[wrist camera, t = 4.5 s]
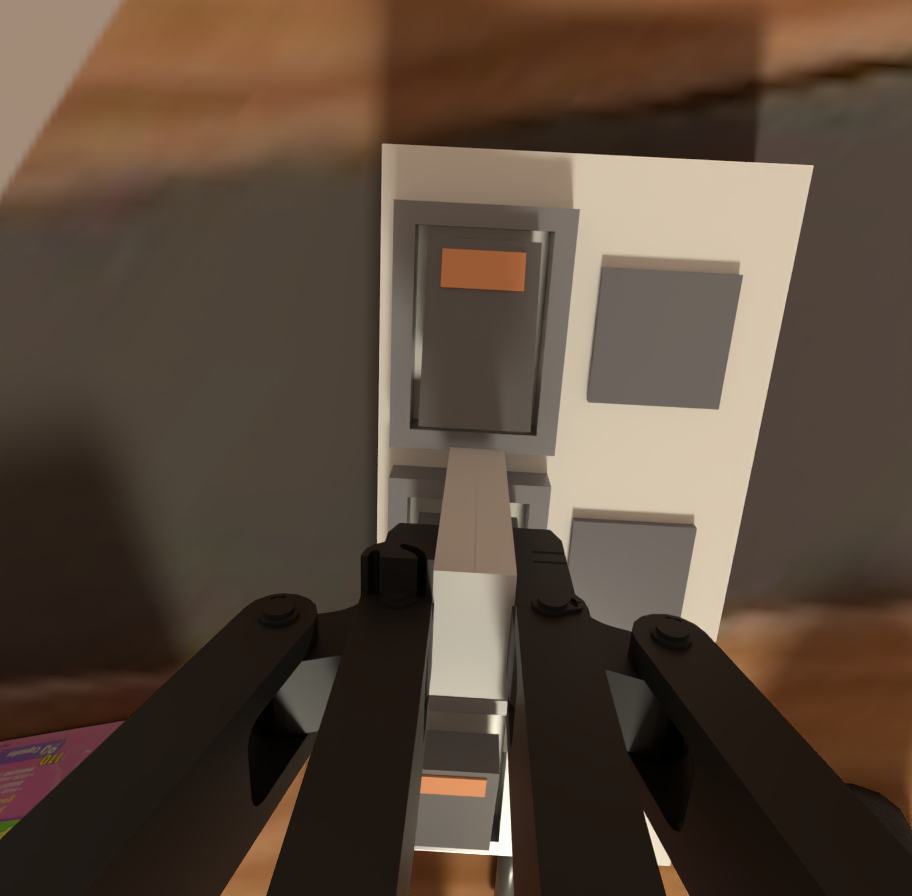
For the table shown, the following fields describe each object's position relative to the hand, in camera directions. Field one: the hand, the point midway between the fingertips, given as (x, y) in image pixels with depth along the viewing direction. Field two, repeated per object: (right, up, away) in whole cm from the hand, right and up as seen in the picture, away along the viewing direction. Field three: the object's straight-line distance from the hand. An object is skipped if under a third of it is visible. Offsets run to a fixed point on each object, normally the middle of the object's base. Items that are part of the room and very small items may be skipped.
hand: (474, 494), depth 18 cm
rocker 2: (-1, -11, +5) cm, 12 cm away
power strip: (+3, -5, +9) cm, 11 cm away
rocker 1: (0, +4, 0) cm, 4 cm away
